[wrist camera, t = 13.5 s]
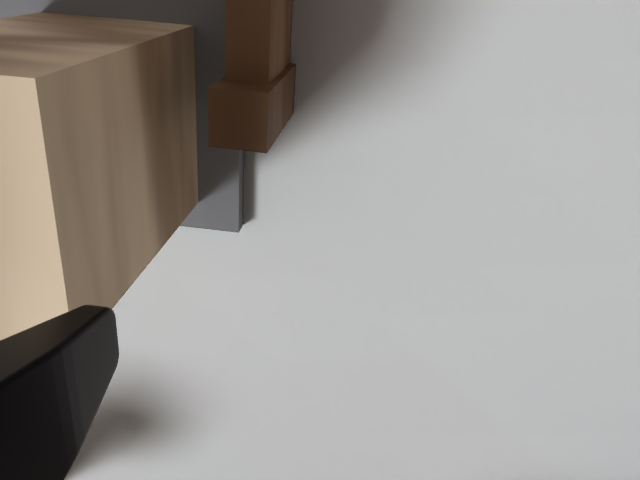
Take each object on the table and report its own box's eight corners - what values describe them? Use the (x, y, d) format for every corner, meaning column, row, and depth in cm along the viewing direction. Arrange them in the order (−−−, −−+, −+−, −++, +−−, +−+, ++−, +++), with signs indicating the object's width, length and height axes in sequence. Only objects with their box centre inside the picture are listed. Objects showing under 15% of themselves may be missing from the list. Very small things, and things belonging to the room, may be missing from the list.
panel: (245, -7, 18) (240, -6, 18) (242, 225, 22) (238, 232, 21) (2, -27, 19) (-10, -26, 18) (37, 202, 22) (28, 208, 22)
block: (193, 25, 18) (34, 78, 10) (198, 202, 21) (74, 355, 13) (41, 11, 19) (-227, 53, 11) (64, 187, 21) (-137, 326, 13)
